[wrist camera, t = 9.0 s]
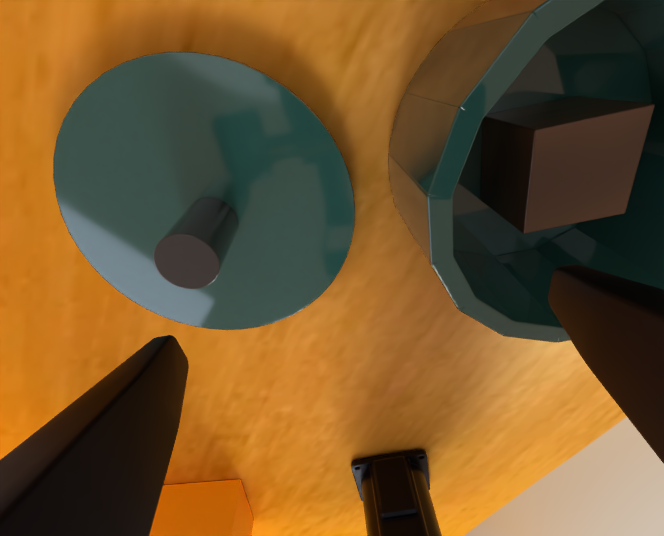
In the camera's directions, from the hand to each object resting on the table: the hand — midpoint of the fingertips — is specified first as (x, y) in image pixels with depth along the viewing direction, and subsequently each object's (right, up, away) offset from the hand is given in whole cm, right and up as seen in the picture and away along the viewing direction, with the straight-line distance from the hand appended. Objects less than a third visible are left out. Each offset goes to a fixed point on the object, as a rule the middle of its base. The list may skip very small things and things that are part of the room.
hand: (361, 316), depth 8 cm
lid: (-6, +4, +8) cm, 11 cm away
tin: (+8, +7, +8) cm, 14 cm away
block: (+8, +7, +8) cm, 13 cm away
